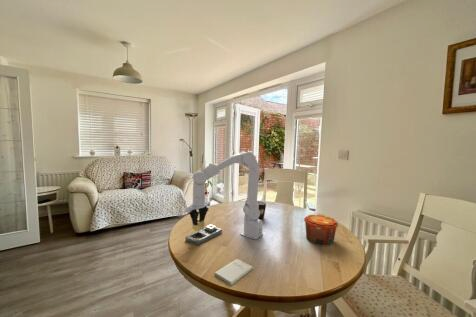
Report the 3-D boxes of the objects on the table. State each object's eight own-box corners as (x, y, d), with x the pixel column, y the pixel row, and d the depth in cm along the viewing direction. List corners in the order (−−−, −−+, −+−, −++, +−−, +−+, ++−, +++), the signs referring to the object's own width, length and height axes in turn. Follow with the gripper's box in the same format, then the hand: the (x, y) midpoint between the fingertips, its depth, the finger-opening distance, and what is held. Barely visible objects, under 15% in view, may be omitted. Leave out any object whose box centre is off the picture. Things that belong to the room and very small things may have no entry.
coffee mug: (265, 215, 138) (266, 201, 137) (265, 220, 130) (266, 205, 129) (248, 214, 139) (248, 200, 138) (247, 219, 131) (247, 204, 130)
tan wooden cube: (204, 228, 101) (204, 220, 101) (198, 231, 98) (198, 222, 98) (198, 226, 103) (198, 218, 103) (192, 229, 100) (192, 220, 100)
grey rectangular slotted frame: (221, 232, 110) (222, 229, 110) (197, 245, 95) (197, 241, 95) (210, 228, 114) (210, 225, 114) (185, 240, 100) (185, 236, 100)
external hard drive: (214, 276, 75) (236, 261, 84) (231, 287, 69) (252, 270, 79) (214, 272, 74) (236, 258, 84) (231, 282, 69) (252, 266, 79)
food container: (333, 235, 111) (334, 216, 110) (339, 250, 95) (341, 227, 95) (302, 231, 115) (303, 212, 114) (303, 244, 100) (305, 222, 99)
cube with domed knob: (215, 233, 109) (216, 225, 109) (210, 236, 106) (211, 228, 105) (210, 231, 111) (210, 224, 111) (205, 234, 108) (205, 226, 108)
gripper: (203, 192, 108) (203, 217, 109) (181, 197, 96) (181, 225, 97) (213, 194, 104) (213, 220, 105) (191, 200, 92) (191, 229, 93)
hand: (198, 223), depth 101 cm, fingers closed on tan wooden cube, 4 cm apart
